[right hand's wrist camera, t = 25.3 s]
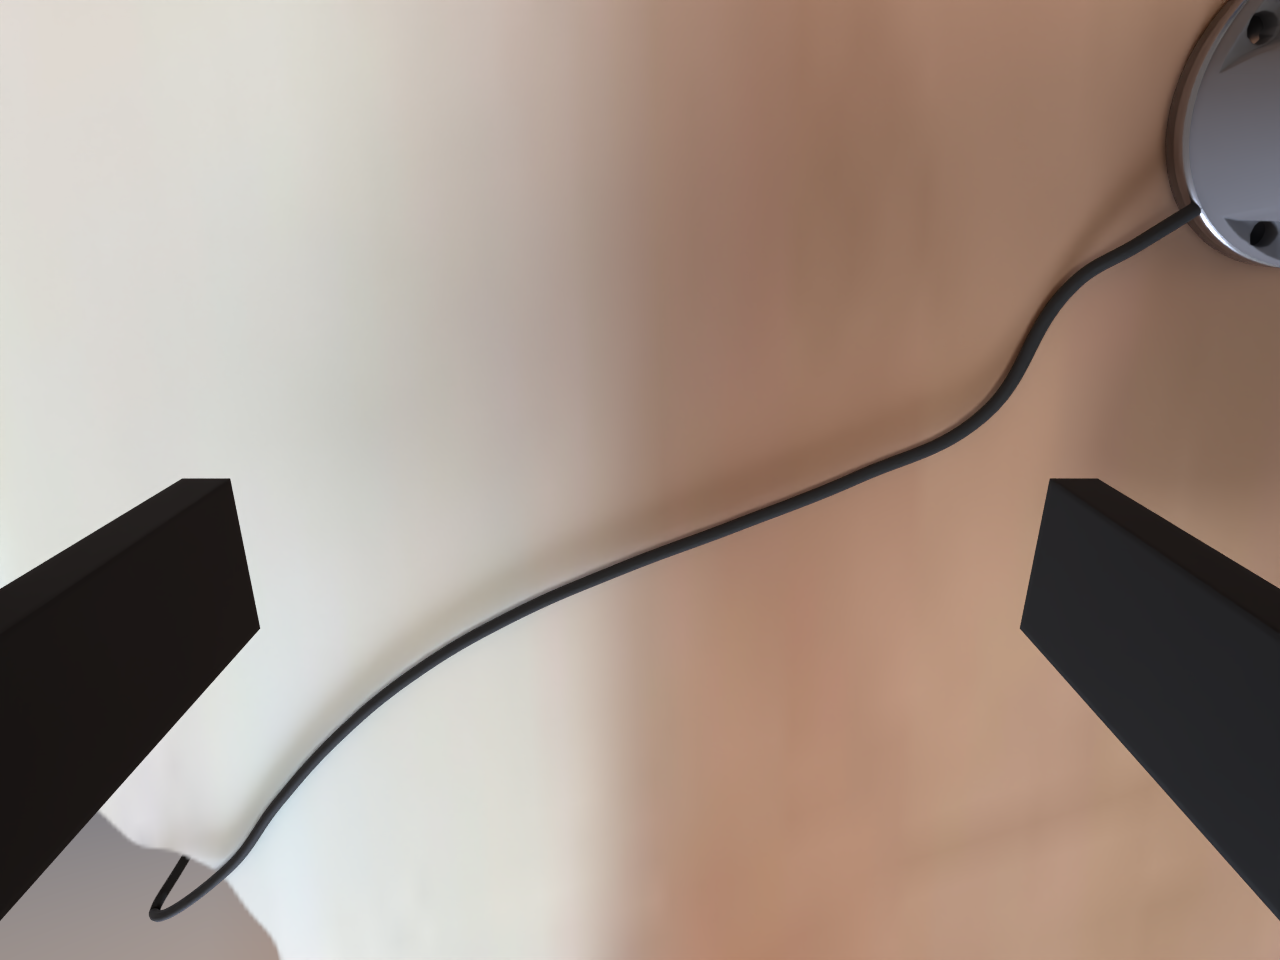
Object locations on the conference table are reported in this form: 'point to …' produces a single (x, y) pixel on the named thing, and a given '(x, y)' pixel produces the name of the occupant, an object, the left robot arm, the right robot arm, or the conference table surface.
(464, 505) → the conference table surface
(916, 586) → the conference table surface
